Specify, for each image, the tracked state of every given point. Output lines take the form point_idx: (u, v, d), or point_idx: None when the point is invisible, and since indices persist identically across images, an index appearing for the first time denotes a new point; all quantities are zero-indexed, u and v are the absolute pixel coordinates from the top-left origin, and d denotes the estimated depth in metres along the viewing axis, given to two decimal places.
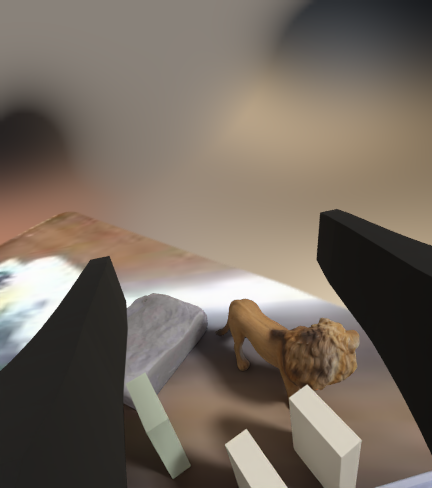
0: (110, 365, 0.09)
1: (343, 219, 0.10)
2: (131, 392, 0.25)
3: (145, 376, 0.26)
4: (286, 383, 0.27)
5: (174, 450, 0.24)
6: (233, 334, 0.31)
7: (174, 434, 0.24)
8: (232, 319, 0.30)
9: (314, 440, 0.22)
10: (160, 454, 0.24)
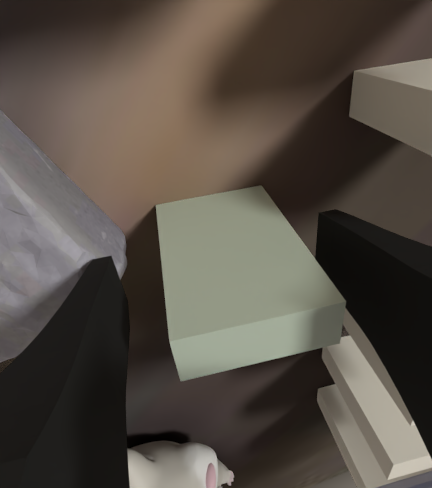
0: (112, 364, 0.09)
1: (341, 219, 0.10)
2: (217, 369, 0.09)
3: (183, 341, 0.08)
4: None
5: None
6: None
7: None
8: None
9: None
10: None
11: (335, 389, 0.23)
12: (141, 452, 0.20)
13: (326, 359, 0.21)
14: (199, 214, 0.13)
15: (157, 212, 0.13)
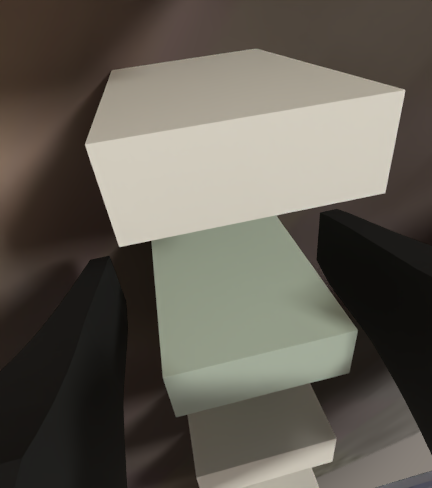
0: (110, 365, 0.09)
1: (343, 219, 0.10)
2: (216, 404, 0.08)
3: (178, 377, 0.07)
4: None
5: None
6: None
7: (317, 277, 0.09)
8: None
9: None
10: None
11: None
12: None
13: None
14: None
15: None
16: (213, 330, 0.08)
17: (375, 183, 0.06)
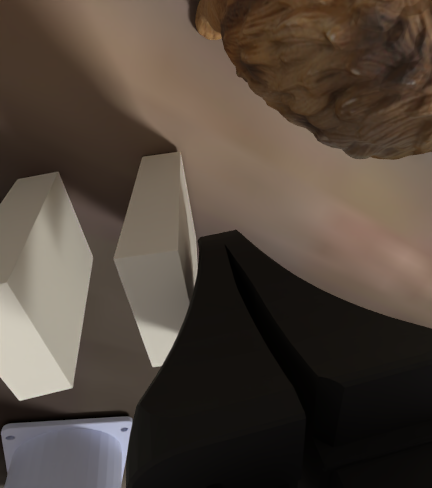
0: None
1: (232, 242, 0.10)
2: None
3: None
4: (211, 15, 0.09)
5: None
6: None
7: None
8: None
9: None
10: None
11: None
12: None
13: None
14: None
15: None
16: None
17: (23, 395, 0.10)
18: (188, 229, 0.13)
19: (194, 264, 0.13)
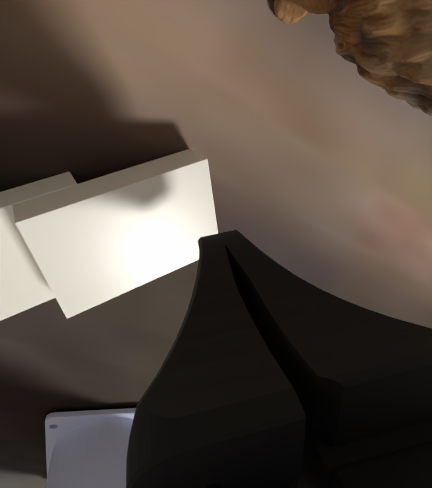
0: None
1: (232, 242, 0.10)
2: None
3: None
4: None
5: None
6: None
7: None
8: None
9: None
10: None
11: None
12: None
13: None
14: None
15: None
16: None
17: None
18: (143, 228, 0.13)
19: (147, 260, 0.14)
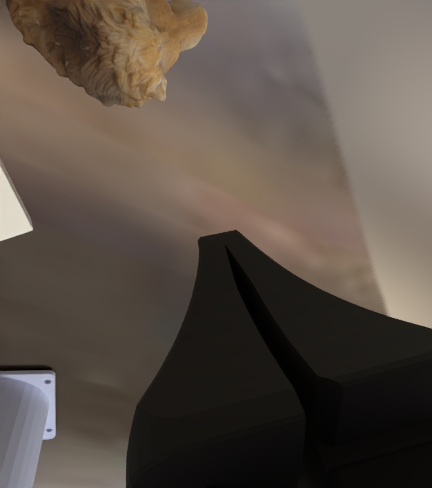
0: None
1: (232, 242, 0.10)
2: None
3: None
4: None
5: None
6: None
7: None
8: None
9: None
10: None
11: None
12: None
13: None
14: None
15: None
16: None
17: None
18: None
19: None
